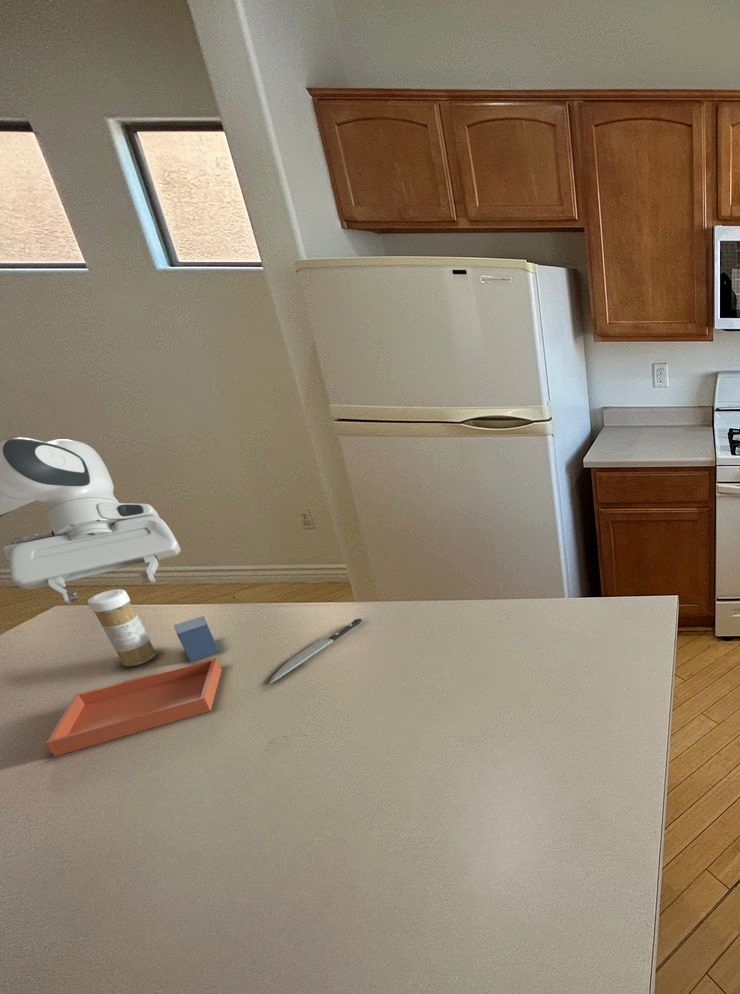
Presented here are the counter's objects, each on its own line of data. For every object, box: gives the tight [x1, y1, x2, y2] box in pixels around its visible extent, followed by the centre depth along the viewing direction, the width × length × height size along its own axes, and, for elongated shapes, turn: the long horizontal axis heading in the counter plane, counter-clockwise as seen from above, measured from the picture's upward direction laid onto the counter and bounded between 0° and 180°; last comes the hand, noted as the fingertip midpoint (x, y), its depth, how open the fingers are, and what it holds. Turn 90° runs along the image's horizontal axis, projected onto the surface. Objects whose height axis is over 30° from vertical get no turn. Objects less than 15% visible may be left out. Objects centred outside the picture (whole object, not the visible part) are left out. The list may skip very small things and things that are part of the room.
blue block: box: [173, 615, 220, 663], centre depth 99 cm, size 4×4×6 cm
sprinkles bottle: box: [87, 588, 157, 667], centre depth 95 cm, size 5×5×13 cm
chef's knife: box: [268, 618, 363, 685], centre depth 101 cm, size 19×1×3 cm
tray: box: [45, 657, 223, 757], centre depth 87 cm, size 17×12×3 cm
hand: (112, 592), depth 97 cm, fingers open, 8 cm apart
